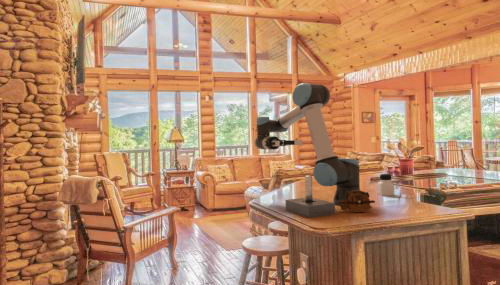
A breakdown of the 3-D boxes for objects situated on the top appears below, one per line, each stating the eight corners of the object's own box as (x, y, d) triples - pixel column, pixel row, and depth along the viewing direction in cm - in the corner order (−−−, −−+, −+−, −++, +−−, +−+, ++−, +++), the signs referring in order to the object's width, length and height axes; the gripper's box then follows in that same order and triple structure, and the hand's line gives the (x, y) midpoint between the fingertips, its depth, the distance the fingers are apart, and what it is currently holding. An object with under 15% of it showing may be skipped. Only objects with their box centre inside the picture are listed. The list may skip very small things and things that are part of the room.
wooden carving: (339, 213, 170) (339, 191, 169) (337, 211, 174) (337, 190, 174) (376, 213, 169) (376, 190, 169) (373, 210, 173) (373, 189, 173)
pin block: (285, 210, 181) (285, 199, 181) (310, 207, 187) (309, 197, 187) (308, 217, 163) (308, 206, 163) (335, 214, 169) (334, 203, 169)
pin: (313, 209, 176) (312, 175, 176) (312, 210, 173) (311, 176, 173) (306, 209, 177) (305, 175, 177) (305, 210, 174) (304, 176, 174)
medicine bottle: (394, 195, 213) (394, 174, 213) (381, 195, 213) (381, 174, 213) (390, 193, 220) (389, 173, 220) (377, 193, 221) (377, 173, 220)
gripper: (290, 148, 220) (310, 149, 201) (251, 150, 210) (269, 151, 190) (290, 135, 220) (310, 135, 201) (251, 137, 210) (268, 136, 190)
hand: (290, 143), depth 196 cm, fingers open, 13 cm apart
